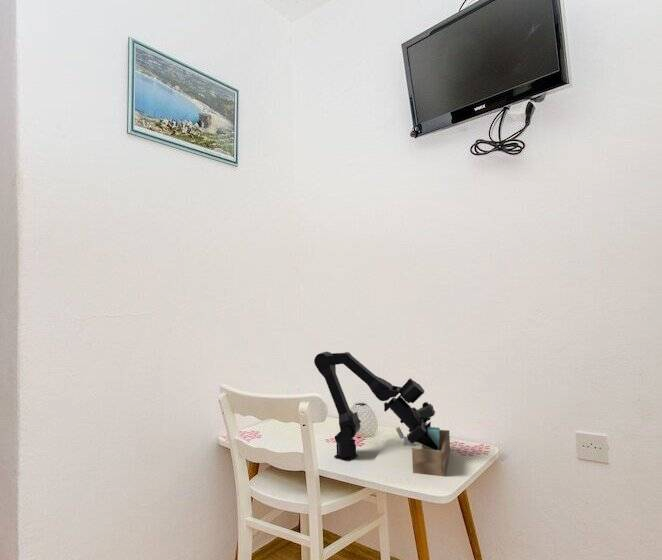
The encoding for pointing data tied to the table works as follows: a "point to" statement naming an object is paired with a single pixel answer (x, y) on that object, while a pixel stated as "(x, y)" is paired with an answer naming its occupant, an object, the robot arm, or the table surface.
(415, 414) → the robot arm
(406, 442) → the lighter
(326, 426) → the table surface
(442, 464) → the open box
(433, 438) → the pillar block
